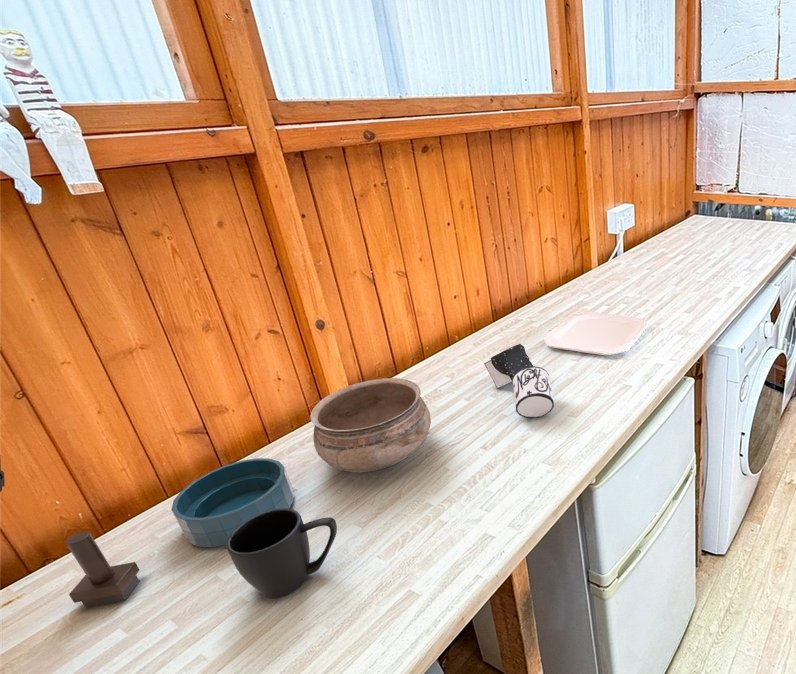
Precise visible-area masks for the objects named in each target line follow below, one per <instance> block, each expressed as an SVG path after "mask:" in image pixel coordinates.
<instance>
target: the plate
mask: <svg viewBox="0 0 796 674" xmlns="http://www.w3.org/2000/svg"><path fill="white" fill-rule="evenodd" d="M648 327H649V323H648V322H647V321H645V320H644V319H643V318H641V317H640V316H633V315H632V316H630V315H622V314H615V313H605V312H597V311H588V310H587V311H581V312H576V313H571V314H569V316H567V317H566V318H564V320H562V321H561V322H560V323H559V324H558V325H556V326H555V327H554V328H552V329H551V330H550V331H549V332H547V334H545V335H544V336H543V337H542V340H543V342H544V343H545V345H546V346H547V347H549V348H553V349H558V350H565V351H571V352H577V353H583V354H584V353H586V354H592V355H600V356H612V355H617V354H622V353H626V352H628V351H630V349H631V348H632V347H633V346H634V345H635V343H636V342H637V341H638V339H639V338H640V337H641V336H642V335H643V333H644V332H645V331H646V329H648Z"/></svg>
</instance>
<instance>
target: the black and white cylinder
mask: <svg viewBox="0 0 796 674" xmlns="http://www.w3.org/2000/svg"><path fill="white" fill-rule="evenodd" d="M483 364H484V366H485V368H486V370H487V372H488V374H489V376H490V377H491V379H492V381H493V383H494V384H495V387H496V389H501V388H503V387H505V386H508V385H510V384H512V388H513V397H514V404H515V405H514V406H515V411H516V414H517V415H519V416H520V417H522V418H526V419H537V418H538V419H539V418H542V417H544V416H546V415H547V414H549V413H551V411H552V410H553V408H554V404H555V402H554V397H553V391H552V386H551V379H550V374H549V373H548V370H546V369H544V368H543V367H540V366H534V364H533V363H532V361H531V360H530V356H529V355H528V354H527V352H526V348H525V346H524V345H523V344H521V343H518V344H515V345H513V346H510V347H509V348H507V349H505V350H503V351H501V352H498V353H497V354H495V355H492V357H490V360H487V361H486V362H484V363H483Z"/></svg>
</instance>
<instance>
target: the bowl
mask: <svg viewBox="0 0 796 674" xmlns="http://www.w3.org/2000/svg"><path fill="white" fill-rule="evenodd" d="M291 483H292V482H291V480H290V478H289V475H288V473H287V470H286V467H285V466H284V465H283V463H281V462H280V461H279V460H276V459H272V458H264V457H262V458H261V457H259V458H258V457H256V458H250V459H242V460H239V461H235V462H233V463H232V462H231V463H229V464H226V465H223V466H221V467H218V468H216V469H214V470H210V471H209V472H207V473H205V474H203V475H202V476H200V477H198V478H197V479H195V480H192V482H190V483H189V484H188V485H187V486H185V487H184V488H183V489H182V490H180V492H179V493H178V494H177V496H176V497H175V498H174V499H173V501H172V505H171V512H172V514H173V516H174V518H175V520H176V522H177V524H178V525H179V528H180V529H181V531H182V533H183V535H184V537H185V539H186V540H187V542H188V543H189V544H192V545H194V546H196V547H198V548H199V547H201V548H203V547H204V548H215V547H220V546H226V543H227V540H228V538H229V536H230V535H231V533H232V532H233V531H234V530H235V529H236V528H237V527H238V526H240V525H241V524H242V523H244V522H245V521H247V520H248V519H250V518H252V517H254V516H256V515H258V514H261V513H263V512H266V511H270V510H274V509H281V508H288V509H291V506H292V504H293V502H294V500H295V493H294V492H295V491H294V488H293V486H292V484H291Z"/></svg>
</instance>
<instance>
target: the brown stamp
mask: <svg viewBox="0 0 796 674" xmlns="http://www.w3.org/2000/svg"><path fill="white" fill-rule="evenodd" d="M64 543H65V545H66V546H67V548H68V549H69V551H70V553H71V554H72V555H73V557H74V558H75V560H76V562H77V563H78V565H79V566H80V568H81V569H82V571H83V572H84V574H85V575H84V576H83V577H82V578H81V579H80V580H79V582H78V583H77V584H76V585H75V587H73V589H72V590H71V591H70V592H69V593H68V596H69V597H70V599H71V600H72V602H73V603H74V604H76V603H82V605H83V606H84V608H85V609H89V608H93V607H100V606H103V605H109V604H113V603H119V602H125V601H127V599H128V597H129V596H130V595H131V594H132V592H133V591H134V590H135V588H136V587H137V586H138V584H139V583H140V579H139V577H138V576H137V574H138V573H139V572H140V567H139V566H138V564H137V562H136V561H132V562H128V563H121V564H116V565H110V563H109V561H108V560H107V558H106V556H105V555H104V553H103V552H102V550H101V549H100V547H99V546H98V544H97V542H96V541H95V539H94V537H93V535H92V534H91V532H90V531H87V530H84V531H79V532H77V533H74V534H72V535H71V536H69V537H68V538H67V539H66V540H65V541H64Z"/></svg>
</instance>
